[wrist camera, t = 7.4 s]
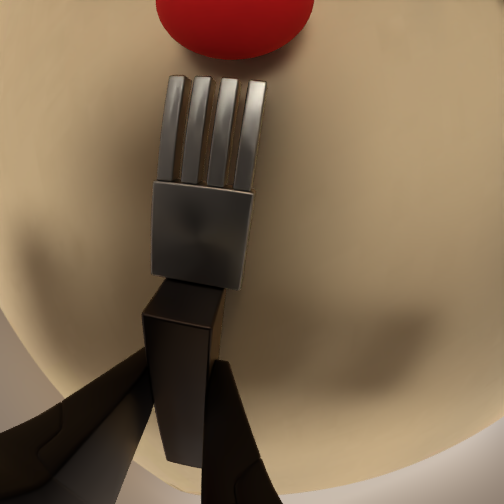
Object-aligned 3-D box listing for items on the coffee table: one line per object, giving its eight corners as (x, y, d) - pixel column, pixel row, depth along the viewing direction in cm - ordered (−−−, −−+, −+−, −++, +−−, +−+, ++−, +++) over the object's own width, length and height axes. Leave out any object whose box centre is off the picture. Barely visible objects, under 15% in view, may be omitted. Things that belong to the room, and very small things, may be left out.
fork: (220, 431, 11) (214, 471, 9) (169, 420, 11) (157, 458, 9) (272, 87, 6) (272, 60, 4) (173, 79, 6) (133, 58, 4)
